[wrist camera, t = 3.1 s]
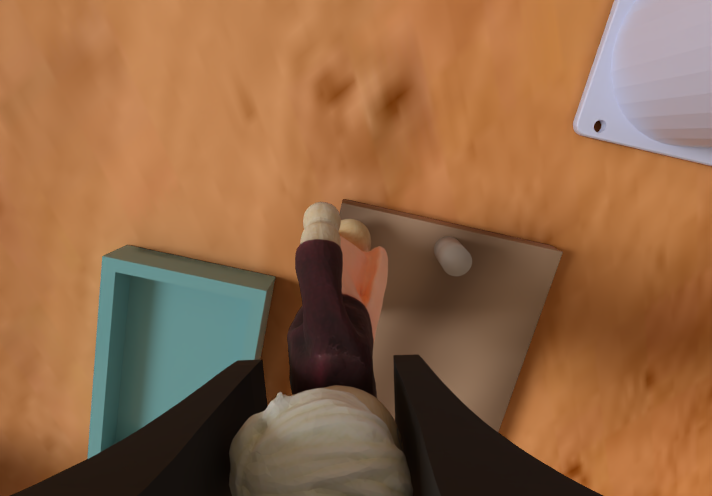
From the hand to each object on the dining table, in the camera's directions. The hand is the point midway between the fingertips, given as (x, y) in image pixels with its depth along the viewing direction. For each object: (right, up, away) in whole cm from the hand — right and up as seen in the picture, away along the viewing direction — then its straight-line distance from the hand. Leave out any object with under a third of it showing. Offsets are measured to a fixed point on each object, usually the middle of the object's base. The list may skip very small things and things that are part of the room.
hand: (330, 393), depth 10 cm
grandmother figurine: (0, +3, +8) cm, 8 cm away
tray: (-8, -2, +11) cm, 14 cm away
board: (+3, -2, +11) cm, 12 cm away
